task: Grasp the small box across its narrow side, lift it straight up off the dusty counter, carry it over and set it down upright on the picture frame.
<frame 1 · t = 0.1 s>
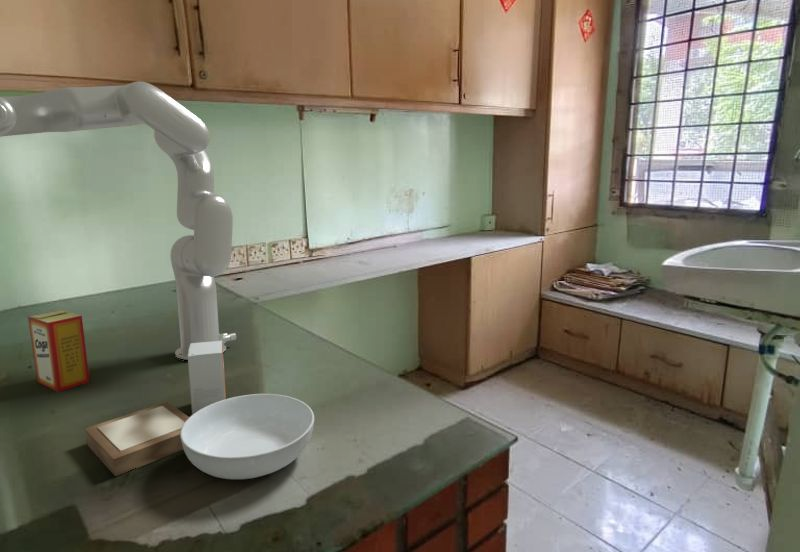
serving bowl: (251, 459, 80), on the counter
small box: (210, 409, 97), on the counter
baking soda box: (63, 382, 109), on the counter
picture frame: (145, 442, 84), on the counter
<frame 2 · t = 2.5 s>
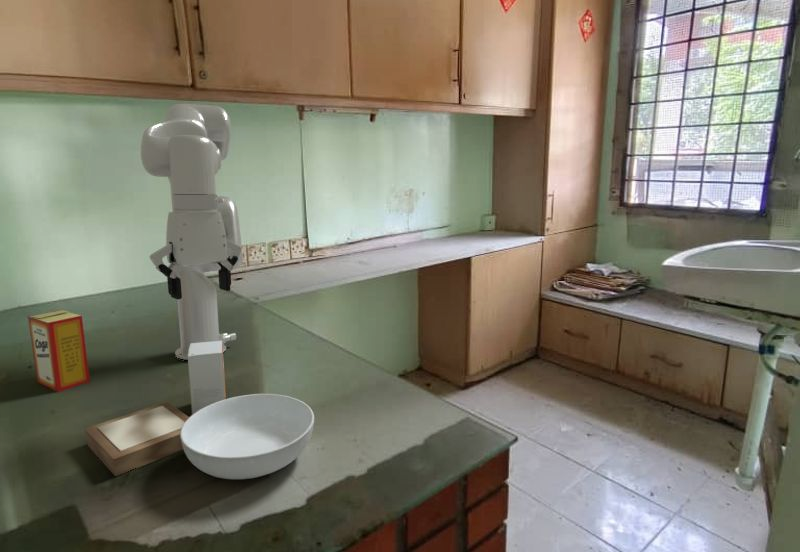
hand: (201, 293, 92), 24 cm above the counter, tool pointing down, fingers open, 9 cm apart
nothing on the counter moved.
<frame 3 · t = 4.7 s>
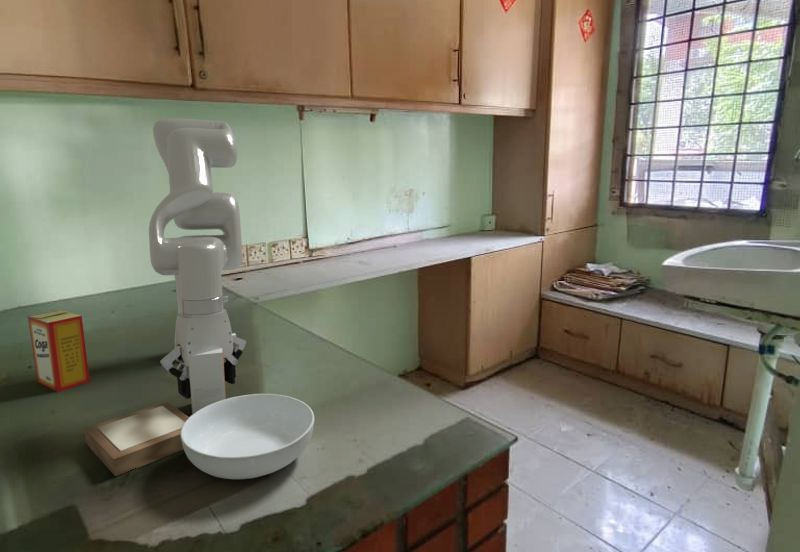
hand: (208, 389, 96), 4 cm above the counter, tool pointing down, fingers closed on small box, 8 cm apart
small box: (210, 409, 97), on the counter, touching gripper
everything else where it was.
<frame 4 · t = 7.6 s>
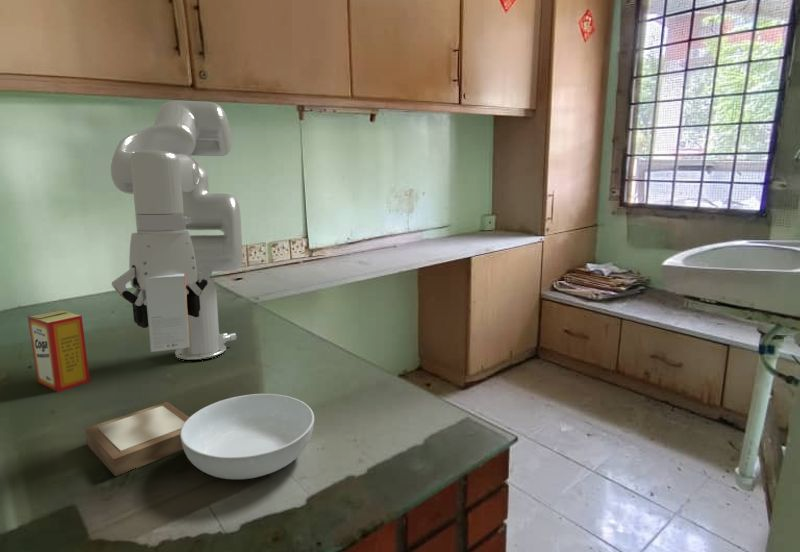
hand: (169, 320, 86), 21 cm above the counter, tool pointing down, fingers closed on small box, 8 cm apart
small box: (171, 344, 87), point 16 cm above the counter, touching gripper
everything else where it was.
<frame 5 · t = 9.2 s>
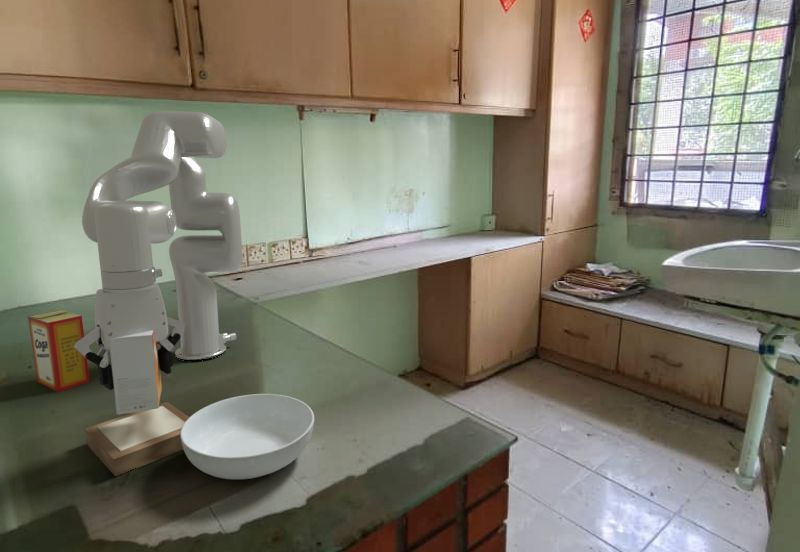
hand: (138, 378, 81), 12 cm above the counter, tool pointing down, fingers closed on small box, 8 cm apart
small box: (141, 403, 82), point 7 cm above the counter, touching gripper
everything else where it was.
when the fingers open (8 cm above the counter, at t = 10.4 s): small box stays where it is, resting on picture frame.
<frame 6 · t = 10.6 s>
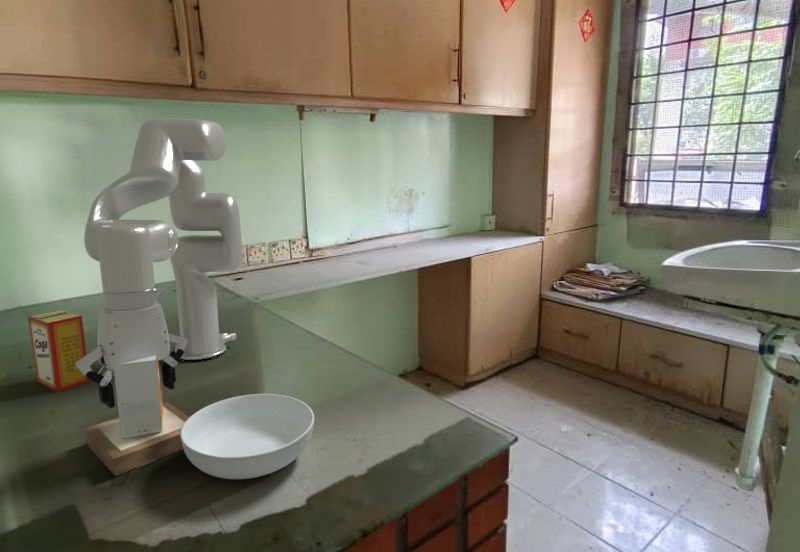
hand: (140, 395, 82), 9 cm above the counter, tool pointing down, fingers open, 9 cm apart
small box: (143, 426, 84), point 3 cm above the counter, touching picture frame
everything else where it was.
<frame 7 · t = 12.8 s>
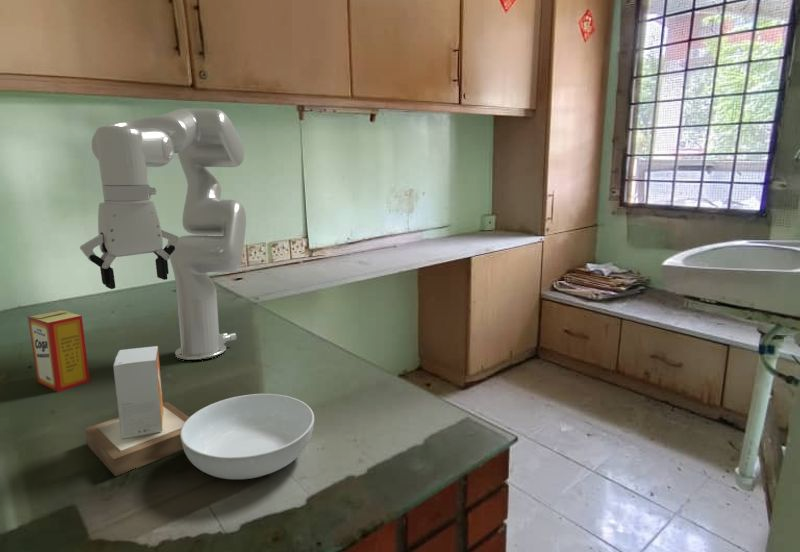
hand: (137, 282, 94), 26 cm above the counter, tool pointing down, fingers open, 9 cm apart
nothing on the counter moved.
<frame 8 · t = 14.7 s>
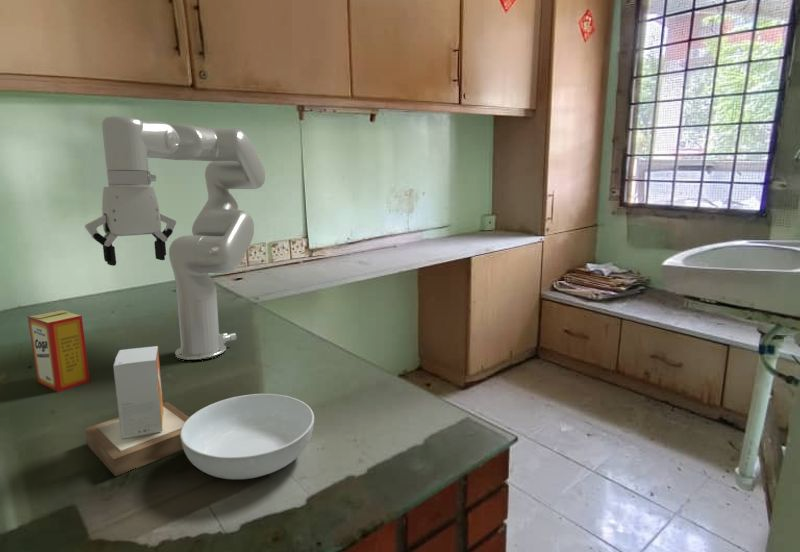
hand: (136, 262, 101), 28 cm above the counter, tool pointing down, fingers open, 9 cm apart
nothing on the counter moved.
at the end: small box inside the target area on the picture frame (0.4 cm from its centre), point 3.0 cm above the picture frame's base; small box tilted 0°; the gripper is holding nothing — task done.
